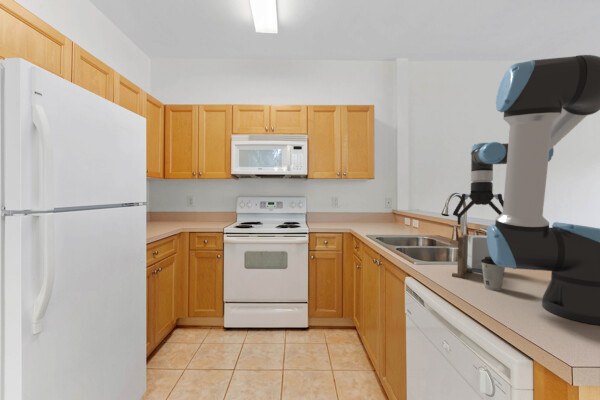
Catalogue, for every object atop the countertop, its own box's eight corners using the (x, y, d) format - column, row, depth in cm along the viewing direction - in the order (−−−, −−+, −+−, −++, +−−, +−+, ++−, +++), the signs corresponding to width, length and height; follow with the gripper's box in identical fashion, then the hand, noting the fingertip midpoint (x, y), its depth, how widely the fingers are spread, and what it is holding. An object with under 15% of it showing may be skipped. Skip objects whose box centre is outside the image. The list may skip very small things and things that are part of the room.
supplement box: (492, 270, 114) (493, 238, 114) (471, 268, 116) (472, 237, 116) (486, 265, 121) (486, 235, 121) (466, 264, 123) (467, 234, 123)
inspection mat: (492, 274, 112) (492, 271, 112) (463, 270, 118) (463, 267, 118) (495, 269, 119) (495, 266, 119) (467, 265, 126) (467, 262, 126)
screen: (466, 279, 106) (467, 238, 105) (451, 276, 109) (452, 236, 109) (472, 272, 115) (473, 234, 115) (458, 270, 118) (459, 233, 118)
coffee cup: (485, 290, 93) (485, 259, 93) (477, 284, 100) (477, 255, 100) (509, 292, 92) (510, 261, 91) (499, 285, 98) (500, 256, 98)
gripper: (520, 181, 113) (519, 236, 113) (450, 183, 129) (449, 231, 129) (519, 180, 107) (518, 237, 107) (445, 182, 123) (444, 232, 123)
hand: (480, 234), depth 118 cm, fingers open, 13 cm apart
